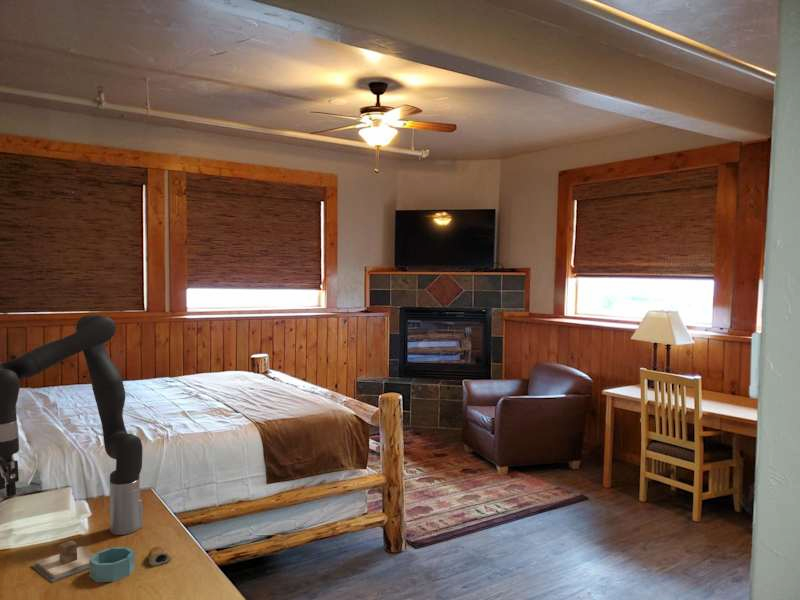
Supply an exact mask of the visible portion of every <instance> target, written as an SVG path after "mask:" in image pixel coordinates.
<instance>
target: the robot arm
mask: <svg viewBox="0 0 800 600" xmlns="http://www.w3.org/2000/svg"><path fill="white" fill-rule="evenodd" d="M116 331H117V326H116V323H115V321H114V320H113V319H112V318H110V317H109V316H106V315H102V314H101V315H99V314H86V315H83V316H81V317H80V318H78V320H77V322H76V326H75V332H74V333H72V334H70V335H67V336H65V337H62V338H59V339H57V340H53V341H50V342H47V343H45V344H42V345H41V346H40V345H39V346H38V347H35V348H34V349H31V350H30V351H28V352H25V353H23V354H22V355H20V356H19V357H16V358H14V359H11V360H7V361H5V362H2V363H0V490H4V489H5V493H6V494H5V495H6V497H7V498H11V497H13V496H16V495H17V489H16V488H17V486H16V483H17V482H19V480H20V477H19V465H18V463H19V461H18V460H15V459H14V457H13V456H14V455H15V454H17V453H18V452H19V451H20V438H19V436H20V435H19V424H18V420H17V419H18V416H17V403H18V398H19V393H20V381H21V380H23V379H29V378H30V379H31V378H33V377H35V376H38V375H39V374H42V373H43V372H44V371H46V370H48V369H49V368H51V367H53V366H55V365H57V364H59V363H60V362H63V361H65V360H66V359H69V358H70V357H73V356H75V355H77V354H79V353H81V352H82V353H83V355H84V358H85V362H86V367H87V370H88V371H87V372H88V375H89V378H90V382H91V387H92V392H93V396H94V400H95V403H96V406H97V407H96V408H97V411H98V415H99V418H100V419H99V420H100V423H101V428H102V437H103V445H104V450H105V453H106V455H107V456H108V457H109V458H111V459H112V460H115V470H113V471H111V473H110V474H109V503H110V504H109V505H110V506H109V509H110V513H109V514H110V517H109V518H110V528H109V529H110V533H111V534H112V535H117V536H121V535H129V534H133V533H135V532H136V531H138V530H140V528H143V526H144V525H143V519H144V518H143V517H144V516H143V499H141V496H140V495H141V494H140V493H141V491H140V490H141V487H140V483H141V482H140V481H141V480H140V476H141V475H140V474H141V471H142V469H143V451H144V450H143V442H142V440H141V439H140V437H139V436H138V435H135V434H131V433H128V431H127V429H126V426H125V425H126V424H125V422H124V417H123V416H124V414H123V412H124V407H125V402H126V390H125V386H124V385H125V384H124V381H123V378H122V376H121V373H120V371H119V369H118V368H117V366H116V365H115V363H114V362H113V360H112V359H111V357H110V356H109V354H108V351H107V348H106V343H107V342H109V341H110V340H111V339H113V337H114V336H115V334H116Z"/></svg>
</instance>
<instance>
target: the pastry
mask: <svg viewBox="0 0 800 600" xmlns="http://www.w3.org/2000/svg"><path fill="white" fill-rule="evenodd" d="M172 558H173V554H172V552H171V550H170V549H169V548H167V547H166V546H162V545H161V546H153V547H152V548H151V549H150V550H149V552H148V555H147V559H148V561H149V562H148V563H149V565H150V566H151V567H153V566H155V567H156V566H161V565H162V564H167V563H169V562H170V561H171V560H172Z"/></svg>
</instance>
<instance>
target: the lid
mask: <svg viewBox="0 0 800 600" xmlns="http://www.w3.org/2000/svg"><path fill="white" fill-rule="evenodd" d="M89 551H90V550H88V549H87V548H85V547H83V546H78V543H77V542H75V541H74V540H69V541H65V542H62V543H59V553H58V554H55V555H52V556H49V557H46V558H43V559H39V560H37V561H35V564H36V565H37V566H38V567H39V568H41V569H42V570H43V571H45V572H46V573H47V574H49V575H50V576H51V577H53V578H54V579H55V578H58V577H61V576H64V575H66V574H69V573H72V572H74V571H77V570H80V569H83V568H85V567H88V566H89V560H90V559H91V558H92V557H93V556H94V554H95V553H92V552H91V551H90V552H89Z"/></svg>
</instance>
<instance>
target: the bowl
mask: <svg viewBox="0 0 800 600" xmlns="http://www.w3.org/2000/svg"><path fill="white" fill-rule="evenodd" d="M93 554H94V556H93V557H92V558H91V559H90V560H89V567H90V569H89V578H90V579H91V580H93V581H95V582H96V583H111V582H113V583H114V582H116V581H119V580H121V579H125V578H126V577H129V576H130V575H131V574H132V572H133V571H134V570H135V568H136V565H135V564H136V562H135V560H136V559H135V558H136V557H135V554H136V553H135V550H133V549H131V548H130V547H128V546H118V547H116V546H115V547H109V548H106V549H103V550H101V551H96V552H95V553H93Z"/></svg>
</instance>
